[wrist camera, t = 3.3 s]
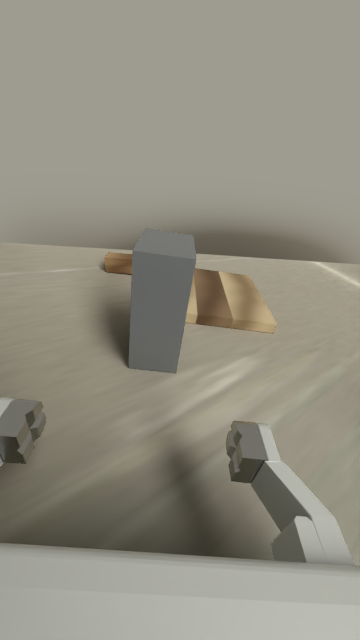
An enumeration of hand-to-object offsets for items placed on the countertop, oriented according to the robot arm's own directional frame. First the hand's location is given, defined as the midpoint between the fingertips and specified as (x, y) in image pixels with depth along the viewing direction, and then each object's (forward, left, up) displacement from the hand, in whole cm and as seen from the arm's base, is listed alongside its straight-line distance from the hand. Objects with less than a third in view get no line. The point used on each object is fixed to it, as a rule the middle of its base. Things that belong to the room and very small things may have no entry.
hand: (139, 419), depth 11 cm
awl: (-3, +29, -5) cm, 29 cm away
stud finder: (0, +12, -6) cm, 13 cm away
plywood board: (+6, +24, -6) cm, 25 cm away
